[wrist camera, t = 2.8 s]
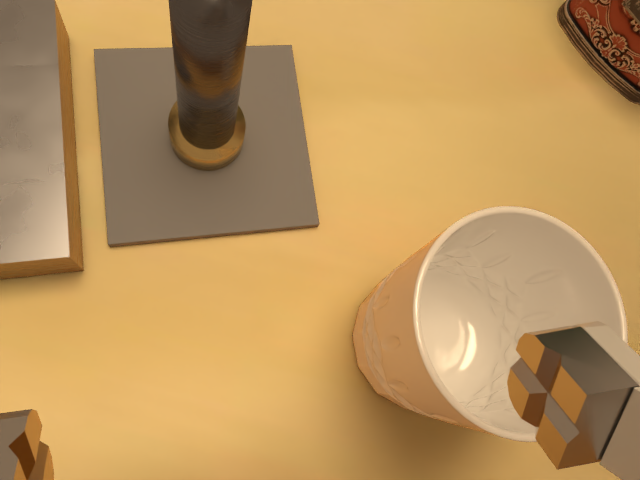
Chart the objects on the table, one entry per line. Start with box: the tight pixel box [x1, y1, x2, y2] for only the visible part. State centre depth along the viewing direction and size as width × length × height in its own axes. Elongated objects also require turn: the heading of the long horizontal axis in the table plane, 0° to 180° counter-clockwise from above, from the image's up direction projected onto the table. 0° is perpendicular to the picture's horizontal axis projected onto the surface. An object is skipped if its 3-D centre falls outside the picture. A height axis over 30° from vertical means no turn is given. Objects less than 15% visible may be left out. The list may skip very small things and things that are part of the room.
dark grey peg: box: [168, 0, 252, 171], centre depth 23 cm, size 4×4×12 cm
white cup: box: [352, 206, 628, 442], centre depth 24 cm, size 8×8×10 cm
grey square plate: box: [94, 45, 319, 247], centre depth 29 cm, size 10×10×1 cm
